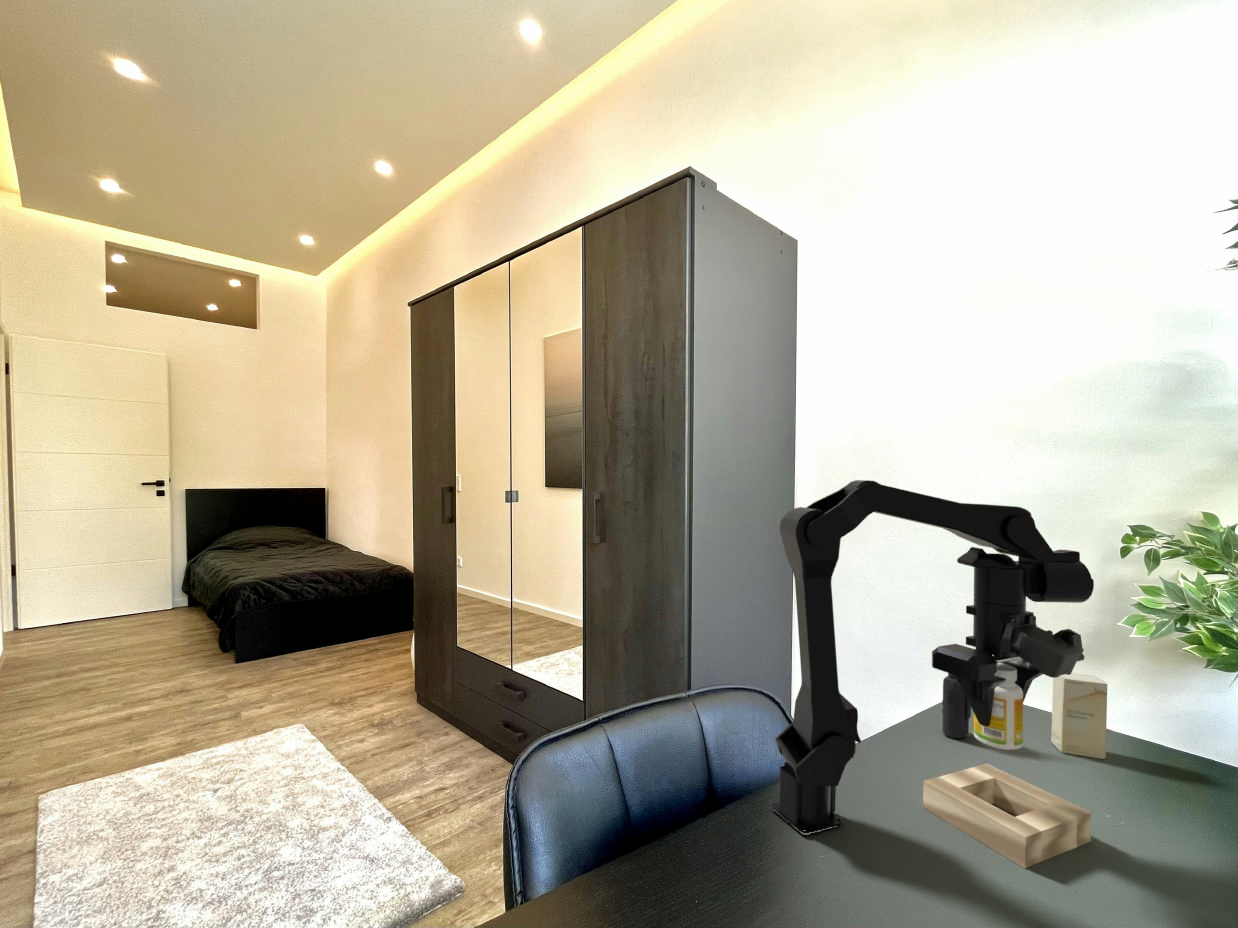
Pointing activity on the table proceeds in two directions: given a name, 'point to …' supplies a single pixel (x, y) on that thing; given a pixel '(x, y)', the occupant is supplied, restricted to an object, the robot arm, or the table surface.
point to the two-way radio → (955, 709)
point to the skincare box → (1079, 715)
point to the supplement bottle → (1004, 713)
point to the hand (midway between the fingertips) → (998, 721)
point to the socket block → (1022, 839)
